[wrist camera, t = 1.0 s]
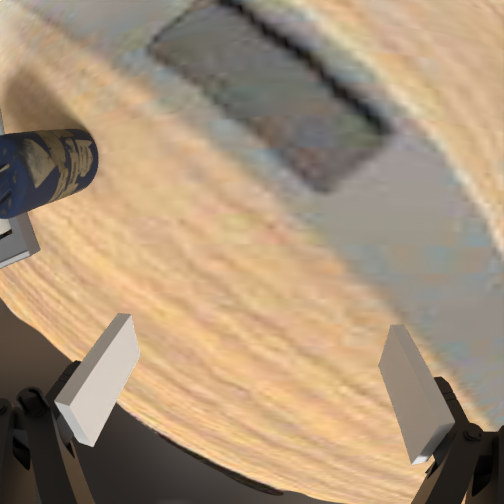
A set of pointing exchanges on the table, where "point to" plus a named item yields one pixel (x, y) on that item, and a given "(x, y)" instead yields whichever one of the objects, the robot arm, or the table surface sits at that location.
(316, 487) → the table surface
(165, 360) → the table surface
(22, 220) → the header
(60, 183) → the canister
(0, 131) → the pad
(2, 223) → the plug
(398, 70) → the table surface
